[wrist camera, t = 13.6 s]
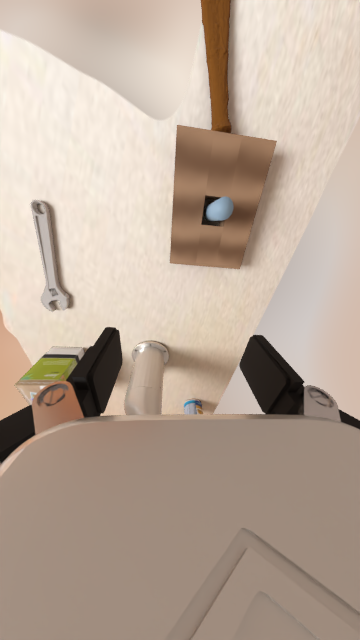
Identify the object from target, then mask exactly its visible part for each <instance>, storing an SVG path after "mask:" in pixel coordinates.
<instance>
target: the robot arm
mask: <svg viewBox="0 0 360 640" xmlns="http://www.w3.org/2000/svg"><path fill="white" fill-rule="evenodd" d="M132 358H133V360H134V362H135V363H134V366H133V370H132V374H131V377H130V381H129V384H128V388H127V392H126V395H125V399H124V410H125V413H126V415H111V416H100V414H101V413H104V411H105V409H106V406H107V403H108V401H109V398H110V395H111V392H112V390H113V387H114V384H115V382H116V379H117V376H118V373H119V371H120V368H121V365H122V351H121V343H120V335H119V330H116V328H112V327H106V328H105V329H104V331H103V332H102V334H101V335H100V337H99V338H98V340H97V341H96V343H95V344H94V346H91V347H89V348H88V350H87V351H86V353H85V354H84V355H83V357H82V358H81V360H80V361H79V362H78V364H77V365H76V367H75V368H74V369H73V371H72V372H71V374H70V375H69V376H68V378H67V379H66V381H58V382H54V383H51V384H49V385H47V386H45V387H44V388H42V389H41V390H40V391H39V392H38V393H37V394H36V395H35V396H34V398H33V400H32V404H31V405H29V406H28V407H26V408H24V409H22V410H20V411H18V412H16V413H14V414H12V415H10V416H8V417H6V418H4V419H3V420H1V421H0V640H360V421H359V420H358V419H355V418H354V417H352V416H350V415H348V414H347V413H344V412H342V411H341V410H339V409H338V406H337V403H336V402H335V400H334V399H333V398H332V397H331V396H330V395H329V394H328V393H326V392H325V391H324V390H322V389H320V388H318V387H315V386H311V385H309V386H306V387H304V386H303V385H302V384H303V383H304V381H303V380H302V378H301V377H300V376H299V375H298V374H297V373H296V372H295V371H294V370H293V369H292V367H291V366H290V365H289V364H288V363H287V362H286V361H285V360H284V359H283V357H282V356H281V355H280V354H279V353H278V352H277V351H276V350H275V349H274V347H273V346H272V345H271V344H270V343H269V342H268V341H267V340H266V339H265V338H264V337H263V336H262V335H253V336H252V337H250V339H249V342H248V344H247V347H246V349H245V352H244V354H243V356H242V359H241V361H240V369H241V371H242V372H243V375H244V376H245V378H246V380H247V382H248V384H249V386H250V388H251V390H252V392H253V394H254V396H255V398H256V399H257V401H258V404H259V405H260V407H261V409H262V411H263V412H264V413H265V414H177V415H161V408H162V390H163V373H164V365H165V364H166V363H167V361H168V359H169V352H168V350H167V348H166V347H165V346H164V345H162V344H160V343H158V342H154V341H146V342H142V343H139V344H138V345H137V346H136V347H135V348H134V349H133V352H132Z"/></svg>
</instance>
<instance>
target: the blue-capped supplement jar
mask: <svg viewBox="0 0 360 640" xmlns="http://www.w3.org/2000/svg"><path fill="white" fill-rule="evenodd" d="M184 410H185V414H203V411H202V404H201V402H200V401H199V400H197V399H190V400H188V401H186V402H185V403H184Z"/></svg>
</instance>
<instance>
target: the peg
mask: <svg viewBox="0 0 360 640" xmlns="http://www.w3.org/2000/svg"><path fill="white" fill-rule="evenodd" d="M233 207H234V206H233V202H232V200H231V199H230V198H229V197H226V196H225V197H221V198H220V199H218V200H216V201H214V202H213V203H211V204H209V205H207V206H206V207H205V209H204V211H203V216H204V219H205V220H206V221H209V222H210V221H220V220H226V219H228V218H229V217H230V216H231V214H232V212H233Z"/></svg>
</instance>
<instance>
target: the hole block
mask: <svg viewBox="0 0 360 640" xmlns="http://www.w3.org/2000/svg"><path fill="white" fill-rule="evenodd" d="M276 142H277V141H274V140H268V139H261V138H255V137H249V136H243V135H237V134H231V133H224V132H218V131H212V130H206V129H200V128H194V127H187V126H181V125H177V137H176V156H175V176H174V195H173V214H172V234H171V253H170V263H174V264H186V265H197V266H209V267H221V268H233V269H240V266H241V263H242V259H243V256H244V252H245V249H246V245H247V242H248V238H249V235H250V232H251V228H252V225H253V221H254V218H255V214H256V211H257V208H258V204H259V201H260V197H261V194H262V190H263V187H264V183H265V180H266V177H267V173H268V170H269V166H270V163H271V159H272V156H273V152H274V149H275V146H276ZM225 196H226V197H229V198H230V199H231V200H232V202H233V206H234V207H233V212H232V214H231V216H230V217H229V218H228V219H226V220H220V221H219V226H210V225H201V223H202V216H203V209H204V202H205V199H209V200H218V199H220V198H221V197H225Z"/></svg>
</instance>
